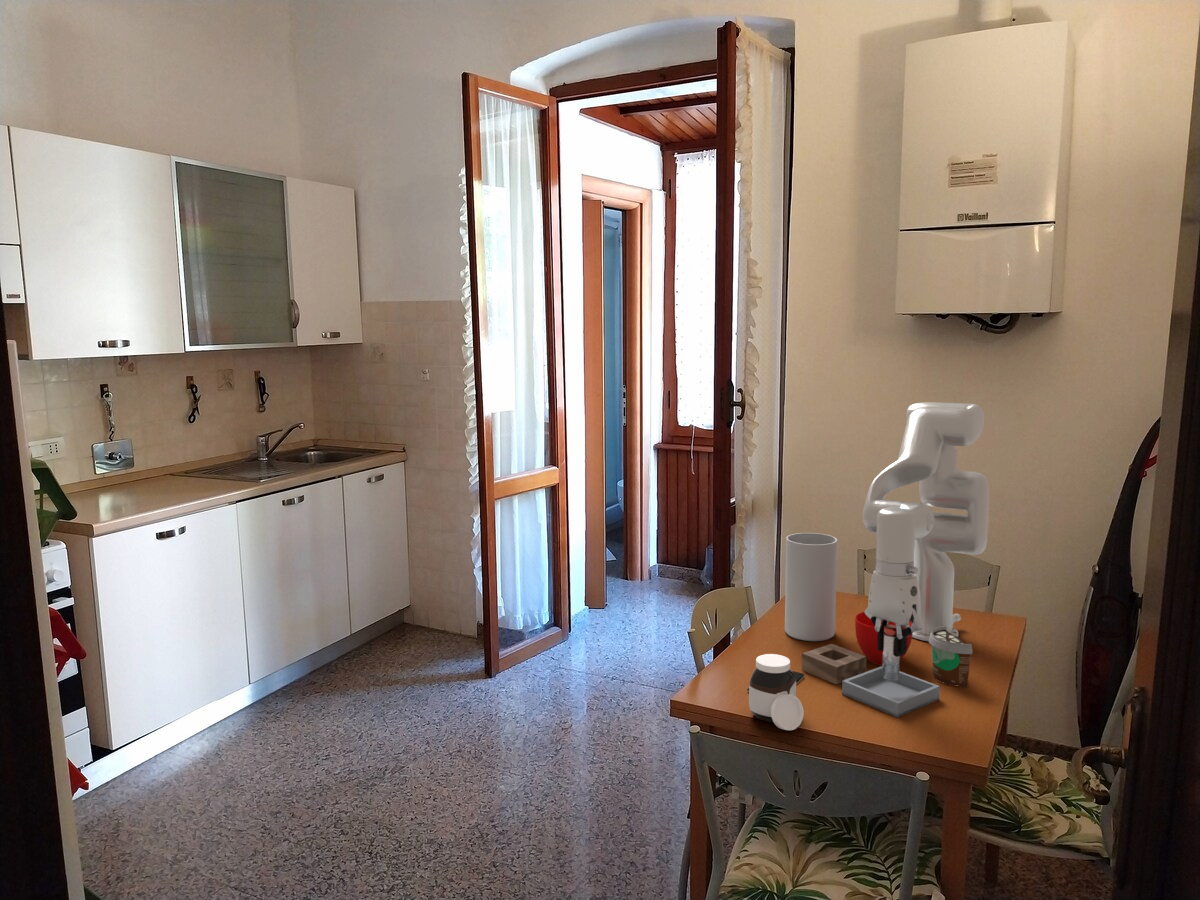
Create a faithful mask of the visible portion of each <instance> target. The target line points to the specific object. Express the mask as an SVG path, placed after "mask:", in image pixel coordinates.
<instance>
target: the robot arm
mask: <svg viewBox="0 0 1200 900" xmlns="http://www.w3.org/2000/svg"><path fill="white" fill-rule="evenodd" d="M905 416H906V417H905V418H906V424H905V428H904V432H903V436H902V440H901V445H900V448H899V453H898V458H897V460H896V461H894V462H893V463H891V464H889V465H888V466H886V467H885V468H884V469H883V470H881V472H880V473H879V474H878V475H876V477H874V479H873V481H872V482H871V483H870V485H869V488H868V491H867V495H866V497H865V502H864V505H863V510H862V522H863V525H864V528H865V529H866V531H868V532H870V533H872V534H876V543H875V544H876V545H875V570H873V573H872V575H871V579H870V584H869V591H868V601H867V602H868V603H867V604H868V606H867V607H866V608H865V610H864V612H865V614H866V615H867V616H868V617H869V618H870V619H871V621H872V623H873V624H874V626H875V630H876V631H877V632H878V635H877V644H878V648H877V649H878V650H879V651H882V650H883V632H884V626H885V625H888V622H889V621H890V622H893V623H896V630H897V638H895V639H894V656H896V657H899V656H901V655H904V654H905V653H906V654H907V652H906V650H907V637H908V636H910V634H912V639H913V638H914V639H916V640H920V641H923V642H929V637H930V634H931V632H932V630H933V629H935V628H937V627H942V626H947V631H948V632H949V633H951V634H952V635H955V636H957V637H958V638H959V631H958V630H957V629H956V628H954V624H955V623H957V622H960V621H961V620H962V617H961V614H959V613H953V610H954V608H953V607H954V589H955V587H954V585H955V584H954V583H955V566H954V563H953V562H952V560H951V559H950V557H949V556H948V554H947V553H954V554H955V553H956V554H965V555H980V554H983V552H984V551H985V550H986V548H987V544H988V535H989V534H988V533H989V509H990V486H989V482H988V479H987V477H986V476H985V475H984V474H982V473H981V472H977V471H967V470H958V449H957V447H968V446H971V445H972V444H973V443H975V442H976V441H977V440H978V439H979V438H980V437H981V435H982V433H983V430H984V428H985V427H984V426H985V412H984V411H983V408H982V407H981V406H980V405H978V404H976V403H963V402H962V403H961V402H959V403H958V402H955V403H954V402H940V401H939V402H938V401H937V402H936V401H935V402H934V401H931V402H930V401H925V402H923V401H922V402H916V403H913V404H911V405H909V406H908V407H907V410H906V415H905ZM918 482H919V487H918V488H919V490H918V491H919V498H920V501H921V502H922V503H921V502H913V501H903V500H902V501H901V500H892V499H885V498H886V496H887V495H888V494H890V493H891V492H892V491H895V490H896V489H900V488H903V487H905V486H908V485H911V484H914V483H918ZM931 507H933V508H937V509H939V508H941V509H947V510H948V509H950V510H960V511H961V510H962V511H964V512H966V513H967V514H960V513H950V512H940V511H933V510H932V508H931ZM909 621H911V623H912V626H911V627H909ZM902 626H903V627H902ZM906 654H905V655H906ZM905 655H904V656H905Z"/></svg>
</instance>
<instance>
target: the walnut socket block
mask: <svg viewBox="0 0 1200 900" xmlns="http://www.w3.org/2000/svg"><path fill="white" fill-rule="evenodd" d="M801 655H802V656H801V670H802V671H803V672H805V673H808V674H811V675H813V676H815V677H817V678H820V679H822V680H825V681H827V682H830V683H831V684H834V685H839V684H842V681H843V680H846V679H848V678H851V677H854V676H857V675H859V674H862V673H865V672H867V657H866V656H865V655H864V654H860V653H858V652H855V651H853V650H849V649H848V648H844V647H841V646H838V645H836V644H834V643H830V644H827V645H824V646H820V647H817V648H814V649H812V650H809V651H808V650H807V651H805V652H802V653H801Z"/></svg>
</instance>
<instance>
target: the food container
mask: <svg viewBox="0 0 1200 900" xmlns="http://www.w3.org/2000/svg"><path fill="white" fill-rule="evenodd" d="M928 643H929V644H930V645H931V656H932V658H931V659H932V660H931V661H932V677H933V678H934V679H935V680H936V679H937V680H936V681H938V680H939V681H938V682H940V681H941V682H940V683H942V682H944V683H943V684H945V683H946V684H945V685H948V684H951V685H950V686H953V685H958V686H957V687H968V684H969V676H970V675H969V674H970V665H971V664H970V663H971V656H972V655H973V645H972V644H973V643H964V642H963V640H962V639H960V637H959V636H958V637H957V636H955V635H952V634H951V633H949V632H948V631H947V626H942V627H937V628H935V629H933V630H932V632H931V634H930V637H929V641H928Z"/></svg>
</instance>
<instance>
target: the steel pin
mask: <svg viewBox="0 0 1200 900" xmlns="http://www.w3.org/2000/svg"><path fill="white" fill-rule="evenodd" d="M895 638H897V630H896V625H885V626H884V632H883V663H882V665H881V666H882V678H884V679H886V680H890V681H896V680H898V679H899V671H900V666H901V665H900V662H901V659H900V656H899V657H896V656H894V639H895Z"/></svg>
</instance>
